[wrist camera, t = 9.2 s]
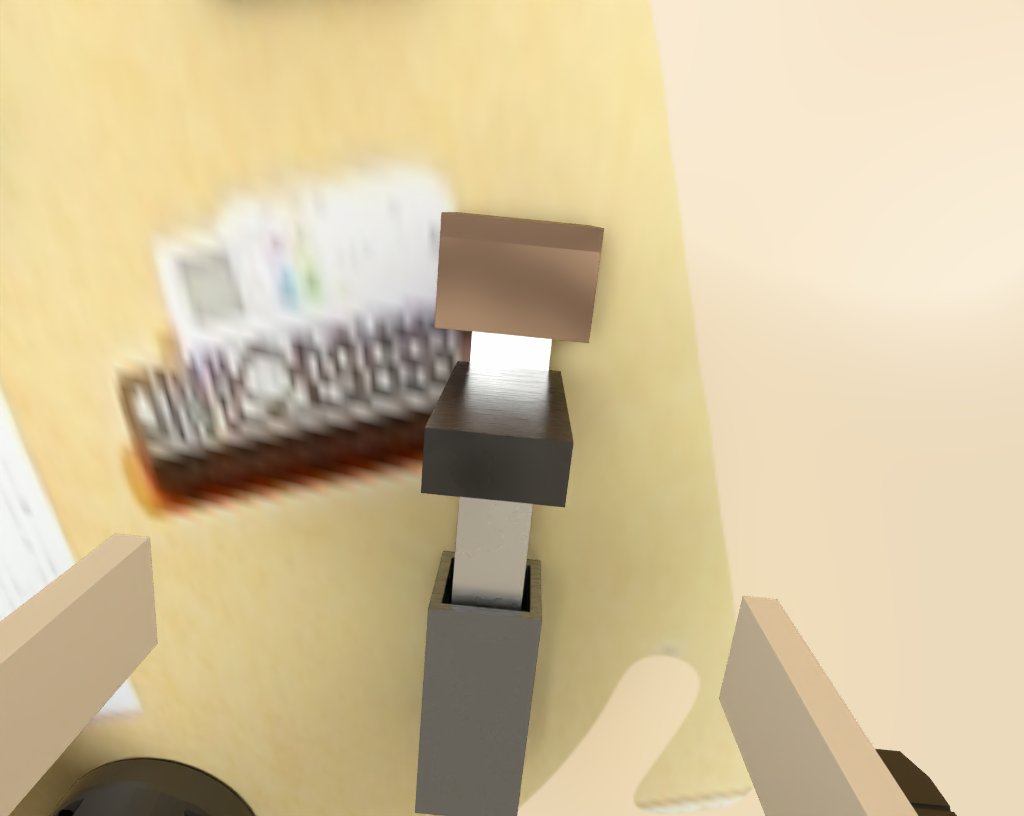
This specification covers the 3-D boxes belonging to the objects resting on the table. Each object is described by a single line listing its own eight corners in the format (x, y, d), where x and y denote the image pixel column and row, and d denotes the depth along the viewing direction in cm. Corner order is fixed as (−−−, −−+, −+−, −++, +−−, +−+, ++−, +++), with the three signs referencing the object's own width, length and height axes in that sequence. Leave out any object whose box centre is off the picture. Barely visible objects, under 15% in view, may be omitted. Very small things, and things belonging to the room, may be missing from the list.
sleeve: (518, 742, 44) (516, 822, 38) (430, 733, 44) (415, 812, 38) (540, 560, 40) (541, 620, 34) (443, 551, 40) (428, 608, 34)
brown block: (579, 320, 35) (588, 342, 29) (451, 307, 35) (434, 327, 29) (590, 225, 34) (603, 228, 28) (458, 212, 34) (441, 212, 28)
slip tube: (526, 615, 39) (524, 816, 26) (445, 607, 39) (402, 804, 26) (569, 258, 33) (593, 289, 20) (472, 249, 33) (433, 273, 20)
